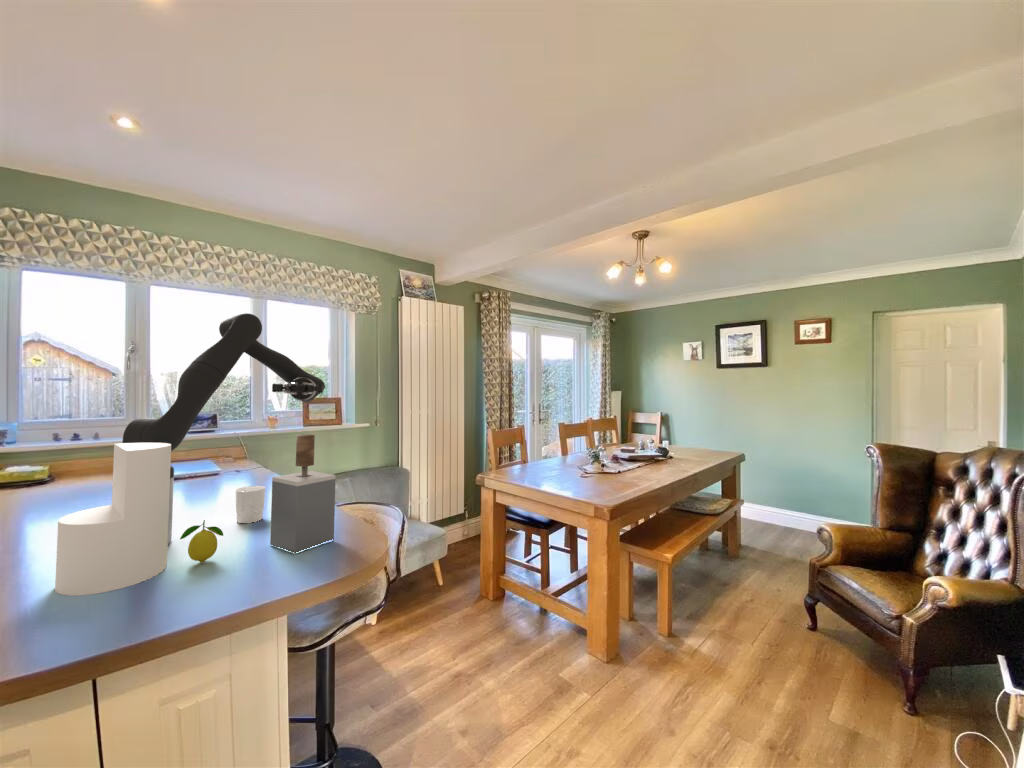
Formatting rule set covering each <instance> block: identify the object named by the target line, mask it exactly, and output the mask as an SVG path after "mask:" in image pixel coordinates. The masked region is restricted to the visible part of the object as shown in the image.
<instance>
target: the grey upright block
mask: <svg viewBox="0 0 1024 768" xmlns="http://www.w3.org/2000/svg"><path fill="white" fill-rule="evenodd" d="M336 477H337V475H336V474H332V473H327V472H320V471H314V470H308V474H307V477H304V478H302V471H301V472H295V473H290V474H284V475H277V476H272V477H271V478H272V479H271V505H270V506H271V508H270V510H271V511H270V512H271V514H270V535H269V537H270V538H269V539H270V540H269V541H270V542H269V545H270V544H271V545H273V546H276V547H280V548H283V549H286V550H288V551H291V552H294V553H296V552H299V551H301V550H304V549H307V548H310V547H312V546H315V545H318V544H321V543H323V542H326V541H329V540H332V539H334V540H335V513H336V512H335V510H336Z"/></svg>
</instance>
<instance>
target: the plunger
mask: <svg viewBox="0 0 1024 768" xmlns="http://www.w3.org/2000/svg"><path fill="white" fill-rule="evenodd" d="M315 435H316V434H296V441H295V443H296V446H295V466H296V467H301V472H302V478H304V477H307V474H308V471H309V470H308V468H309V467H310V466H311V467H312V466H314V465H315V445H316V444H315V438H316V436H315Z"/></svg>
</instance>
